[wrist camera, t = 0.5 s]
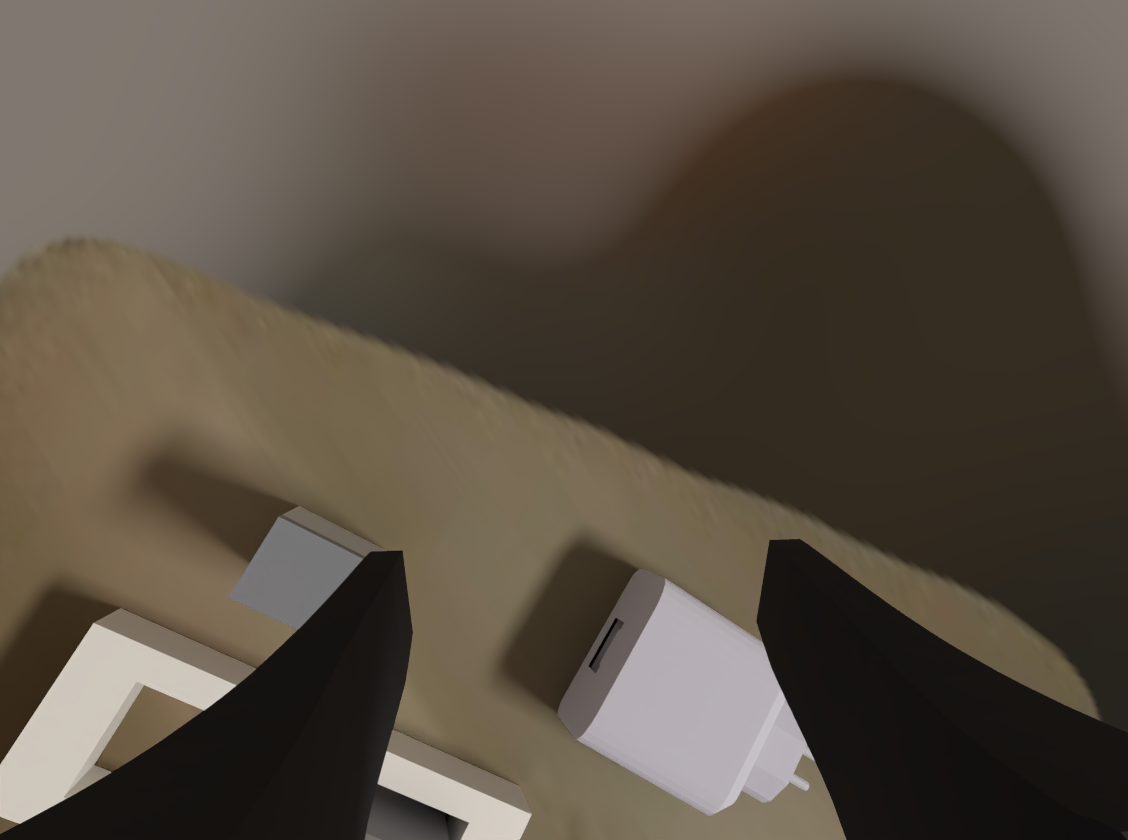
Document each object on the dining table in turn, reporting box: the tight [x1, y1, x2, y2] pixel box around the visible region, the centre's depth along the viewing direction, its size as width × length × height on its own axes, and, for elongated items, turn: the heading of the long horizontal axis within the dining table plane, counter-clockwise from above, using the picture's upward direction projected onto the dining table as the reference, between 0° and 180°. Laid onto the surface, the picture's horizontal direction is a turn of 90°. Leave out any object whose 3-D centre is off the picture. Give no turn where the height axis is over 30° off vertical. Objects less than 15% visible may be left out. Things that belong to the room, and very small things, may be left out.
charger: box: [558, 569, 815, 816], centre depth 36 cm, size 5×9×15 cm
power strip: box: [0, 608, 532, 840], centre depth 30 cm, size 8×22×4 cm, turn 61°
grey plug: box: [228, 506, 387, 630], centre depth 30 cm, size 4×5×7 cm
